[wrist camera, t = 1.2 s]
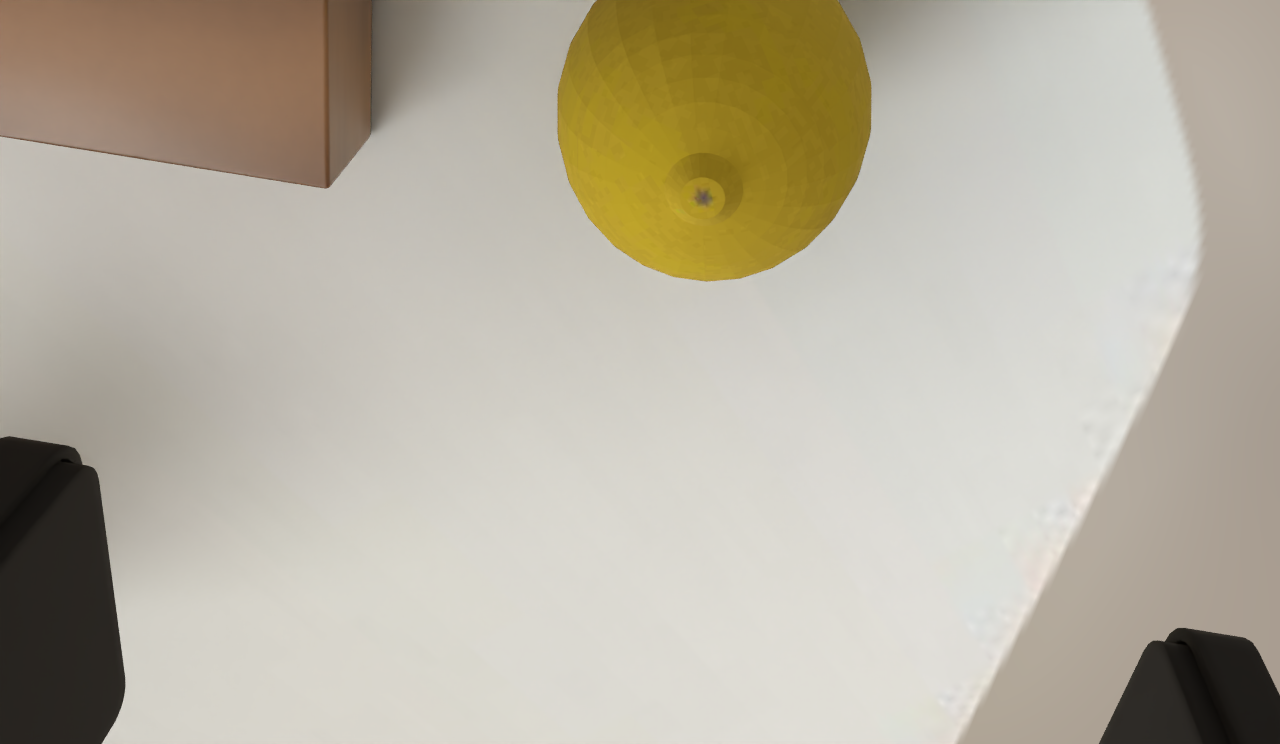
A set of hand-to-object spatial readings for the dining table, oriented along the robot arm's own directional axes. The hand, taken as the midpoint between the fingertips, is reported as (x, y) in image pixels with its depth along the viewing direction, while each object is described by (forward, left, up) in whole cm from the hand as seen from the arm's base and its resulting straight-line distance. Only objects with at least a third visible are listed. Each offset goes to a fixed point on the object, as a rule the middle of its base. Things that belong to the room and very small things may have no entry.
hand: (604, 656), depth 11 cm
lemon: (-1, 0, -17) cm, 17 cm away
